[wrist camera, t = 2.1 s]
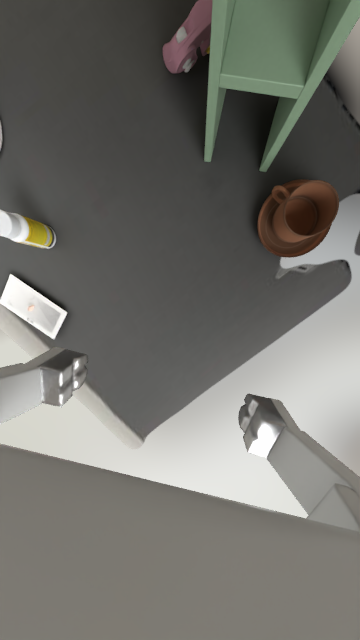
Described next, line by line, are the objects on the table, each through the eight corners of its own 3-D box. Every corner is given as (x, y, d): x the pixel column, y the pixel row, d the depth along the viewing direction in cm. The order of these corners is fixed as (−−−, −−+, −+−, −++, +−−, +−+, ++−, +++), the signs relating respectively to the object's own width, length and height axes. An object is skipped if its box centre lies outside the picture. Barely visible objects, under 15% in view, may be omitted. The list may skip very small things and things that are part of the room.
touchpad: (15, 274, 38) (5, 273, 35) (71, 311, 38) (63, 313, 36) (4, 302, 39) (-7, 303, 37) (57, 338, 40) (49, 341, 38)
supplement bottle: (51, 222, 34) (5, 202, 26) (60, 245, 35) (18, 233, 27) (32, 229, 35) (-18, 212, 27) (41, 252, 36) (-5, 242, 28)
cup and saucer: (242, 245, 32) (253, 235, 26) (274, 175, 29) (294, 146, 23) (301, 268, 31) (326, 264, 25) (339, 201, 29) (376, 178, 23)
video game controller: (174, 96, 29) (180, 69, 23) (159, 56, 27) (161, 15, 21) (224, 50, 27) (244, 8, 21) (213, 2, 25) (232, -59, 19)
